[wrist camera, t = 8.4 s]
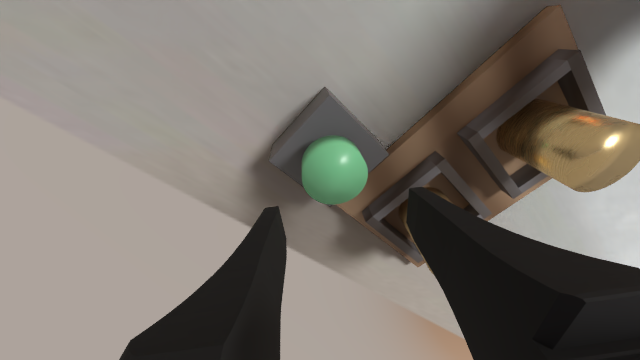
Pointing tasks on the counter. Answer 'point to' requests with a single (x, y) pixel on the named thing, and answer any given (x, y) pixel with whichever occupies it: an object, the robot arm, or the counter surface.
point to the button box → (323, 135)
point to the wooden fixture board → (477, 134)
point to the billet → (571, 144)
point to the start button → (333, 170)
